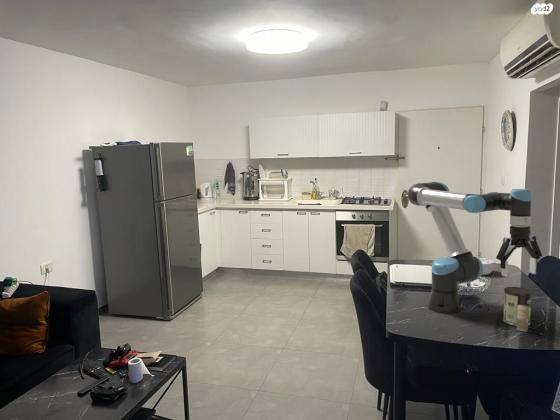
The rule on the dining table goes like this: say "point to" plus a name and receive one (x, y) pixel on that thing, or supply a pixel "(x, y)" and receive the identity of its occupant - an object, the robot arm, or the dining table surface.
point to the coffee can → (515, 303)
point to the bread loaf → (522, 318)
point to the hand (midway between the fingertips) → (518, 274)
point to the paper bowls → (487, 265)
